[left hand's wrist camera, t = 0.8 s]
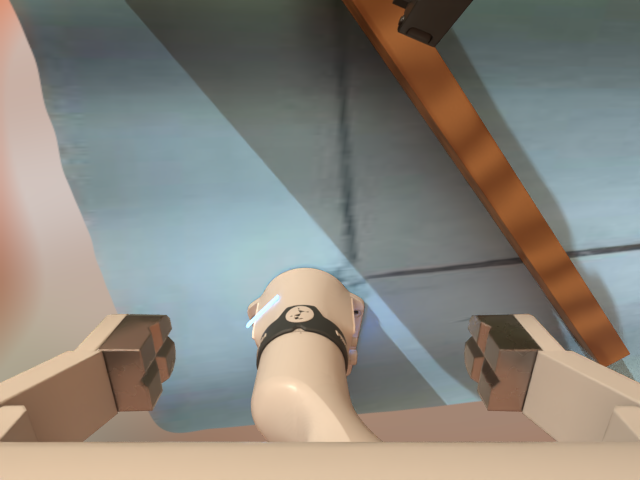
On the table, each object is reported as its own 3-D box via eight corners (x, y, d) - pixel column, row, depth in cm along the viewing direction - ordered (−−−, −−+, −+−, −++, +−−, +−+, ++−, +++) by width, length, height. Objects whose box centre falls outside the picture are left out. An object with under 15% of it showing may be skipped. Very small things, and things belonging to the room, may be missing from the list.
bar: (604, 331, 65) (630, 354, 59) (580, 345, 66) (603, 368, 60) (330, -91, 43) (332, -115, 38) (300, -60, 44) (297, -79, 39)
